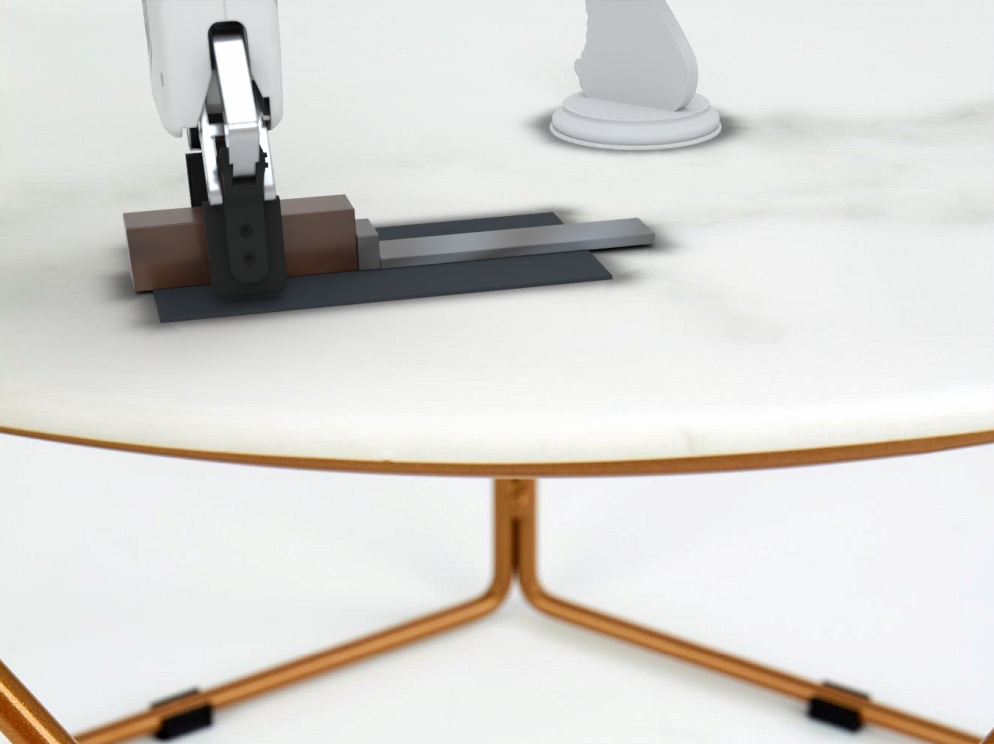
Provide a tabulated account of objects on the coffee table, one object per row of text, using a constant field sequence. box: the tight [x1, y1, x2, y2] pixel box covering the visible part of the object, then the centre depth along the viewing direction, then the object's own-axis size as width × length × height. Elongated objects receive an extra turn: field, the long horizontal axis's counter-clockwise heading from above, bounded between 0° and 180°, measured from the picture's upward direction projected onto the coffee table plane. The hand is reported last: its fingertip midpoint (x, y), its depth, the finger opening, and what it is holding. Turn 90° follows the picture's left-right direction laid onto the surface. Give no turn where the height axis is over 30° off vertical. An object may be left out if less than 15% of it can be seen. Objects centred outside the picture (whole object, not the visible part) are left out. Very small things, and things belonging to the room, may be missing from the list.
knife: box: [122, 193, 656, 292], centre depth 78 cm, size 24×3×3 cm, turn 104°
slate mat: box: [152, 211, 613, 324], centre depth 79 cm, size 20×10×1 cm, turn 104°
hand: (239, 262), depth 77 cm, fingers open, 7 cm apart
